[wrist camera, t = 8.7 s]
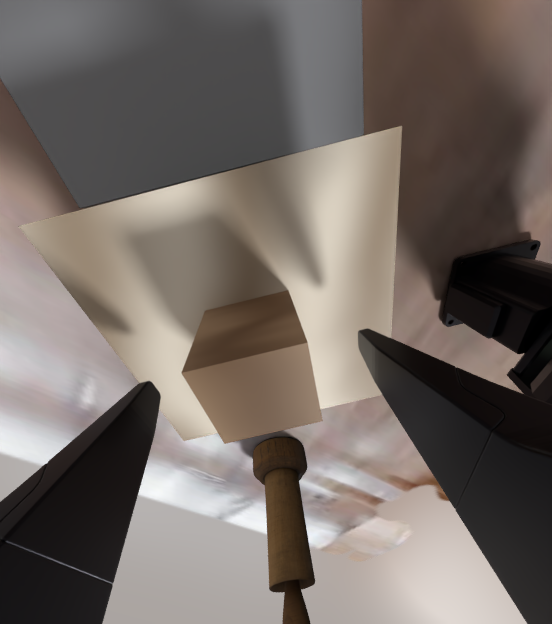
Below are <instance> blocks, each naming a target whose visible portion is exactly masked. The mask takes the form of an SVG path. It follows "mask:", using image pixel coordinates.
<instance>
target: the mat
mask: <svg viewBox="0 0 552 624" xmlns="http://www.w3.org/2000/svg"><path fill="white" fill-rule="evenodd" d="M0 78H1V80H2V82H3V83H4V85H5V87H6V88H7V90H8V92H9V93H10V95H11V96H12V98H13V100H14V101H15V103H16V105H17V106H18V108H19V110H20V111H21V113H22V115H23V116H24V118H25V119H26V121H27V123H28V124H29V126H30V128H31V129H32V131H33V133H34V134H35V136H36V137H37V139H38V141H39V142H40V144H41V146H42V147H43V149H44V151H45V152H46V154H47V155H48V157H49V159H50V160H51V162H52V164H53V165H54V167H55V169H56V170H57V172H58V173H59V175H60V177H61V178H62V180H63V182H64V183H65V185H66V187H67V188H68V190H69V191H70V193H71V195H72V196H73V198H74V200H75V201H76V203H77V205H78V206H79V208H85V207H89V206H93V205H97V204H101V203H105V202H109V201H113V200H117V199H120V198H124V197H128V196H132V195H136V194H140V193H144V192H148V191H151V190H155V189H159V188H163V187H167V186H171V185H175V184H178V183H182V182H186V181H190V180H194V179H198V178H202V177H206V176H209V175H213V174H217V173H221V172H225V171H229V170H233V169H236V168H240V167H244V166H248V165H252V164H256V163H260V162H264V161H267V160H271V159H275V158H279V157H283V156H287V155H291V154H295V153H298V152H302V151H306V150H310V149H314V148H318V147H322V146H325V145H329V144H333V143H337V142H341V141H345V140H349V139H353V138H356V137H360V136H362V135H364V109H363V40H362V0H0Z"/></svg>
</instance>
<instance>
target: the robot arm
mask: <svg viewBox="0 0 552 624" xmlns="http://www.w3.org/2000/svg"><path fill="white" fill-rule="evenodd" d="M540 244H541V243H540V241H537V240H527V241H523V242H519V243H515V244H511V245H507V246H503V247H498V248H494V249H490V250H486V251H482V252H478V253H474V254H470V255H466V256H462V257H459V258H457V259H456V260H455V261H454V263H453V267H452V272H451V278H450V283H449V288H448V293H447V298H446V304H445V309H444V314H443V319H442V323H443V324H444V325H446V326H448V327H450V326H454V325H458V324H463V323H464V324H466V325H467V326H469V327H470V328H472V329H474V330H475V331H477V332H478V333H480V334H481V335H483V336H485V337H486V338H493V339H494V340H496V341H498V342H499V343H501V344H502V345H504V346H506V347H507V348H509V349H510V350H512V351H514V352H515V353H517V354H522V353H525V354H524V355H523V356H522V358H521V359H520V360H519V362H518V363H517V364H516V366H515V367H514V368H512V369H511V370H510V371H509V372H508V374H507V376H508V377H509V378H510V379H511V380H512V381H513V382H514V383H515V385H516V386H517V387H518V388H519V389H520V390H521V391H522V392H523V393H524V394H522V393H519V392H516V391H514V390H511V389H508V388H506V387H503V386H501V385H498V384H496V383H493V382H490V381H488V380H486V379H483V378H481V377H478V376H476V375H474V374H471V373H469V372H467V371H464V370H462V369H460V368H456V367H455V366H453V365H451V364H448V363H446V362H444V361H441V360H439V359H437V358H435V357H432V356H430V355H428V354H426V353H423V352H421V351H419V350H416V349H414V348H412V347H410V346H407V345H405V344H403V343H401V342H398V341H396V340H394V339H391V338H389V337H387V336H385V335H382V334H380V333H378V332H376V331H373V330H371V329H368V328H366V329H362V330H359V331H358V347H359V351H360V353H361V355H362V357H363V359H364V361H365V363H366V365H367V367H368V369H369V371H370V374H371V376H372V378H373V380H374V382H375V383H376V385H377V387H378V388H379V390H380V391H381V393H382V395H383V396H384V398H385V399H386V401H387V403H388V404H389V406H390V407H391V409H392V410H393V412H394V414H395V415H396V417H397V418H398V420H399V421H400V423H401V425H402V426H403V428H404V429H405V431H406V432H407V434H408V436H409V437H410V439H411V440H412V442H413V444H414V445H415V447H416V448H417V450H418V451H419V453H420V455H421V456H422V458H423V459H424V461H425V462H426V464H427V466H428V467H429V469H430V470H431V472H432V474H433V475H434V477H435V478H436V480H437V481H438V483H439V485H440V486H441V488H442V489H443V491H444V492H445V494H446V496H447V497H448V499H449V500H450V502H451V503H452V505H453V507H454V508H455V509H456V512H457V513H458V515H459V516H460V518H461V520H462V521H463V523H464V524H465V526H466V527H467V529H468V531H469V532H470V534H471V535H472V537H473V539H474V540H475V542H476V543H477V545H478V546H479V548H480V550H481V551H482V553H483V554H484V556H485V558H486V559H487V561H488V562H489V564H490V565H491V567H492V569H493V570H494V572H495V573H496V575H497V576H498V578H499V580H500V581H501V583H502V584H503V586H504V587H505V589H506V591H507V592H508V594H509V595H510V597H511V598H512V600H513V602H514V603H515V605H516V606H517V608H518V610H519V611H520V613H521V614H522V616H523V618H524V619H525V621H526V622H527V624H552V264H550V263H546V262H542V261H538V260H535V258H536V255H537V253H538V250H539V247H540ZM461 263H462V264H461ZM460 264H461V265H460ZM160 400H161V395H160V392H159V391H158V390H157V388H156V387H155V385H154V384H153V383H152V382H151V381H145V382H141V383H139V384H138V385H137V386H135V387H134V388H133V389H132V390H131V391H130V392H128V393H127V394H126V395H125V396H124V397H123V398H121V399H120V400H119V401H118V402H117V403H116V404H115V405H113V406H112V407H111V408H110V409H109V410H108V411H106V412H105V413H104V414H103V415H102V416H101V417H99V418H98V419H97V420H96V421H95V422H94V423H92V424H91V425H90V426H89V427H88V428H87V429H85V430H84V431H83V432H82V433H81V434H80V435H79V436H77V437H76V438H75V439H74V440H73V441H72V442H70V443H69V444H68V445H67V446H66V447H65V448H63V449H62V450H61V451H60V452H59V453H58V454H56V455H55V456H54V457H53V458H52V459H51V460H50V461H48V463H47V464H45V465H44V466H42V467H41V468H40V469H39V470H38V471H37V472H36V473H34V474H33V475H32V476H31V477H30V478H28V479H27V480H26V481H25V482H24V483H23V484H21V485H20V486H19V487H18V488H17V489H15V490H14V491H13V492H12V493H11V494H9V495H8V496H7V497H6V498H4V499H3V500H2V501H1V502H0V624H102V622H103V619H104V615H105V611H106V608H107V604H108V601H109V597H110V593H111V590H112V583H113V582H114V578H115V575H116V571H117V568H118V564H119V561H120V557H121V553H122V549H123V546H124V543H125V538H126V535H127V532H128V528H129V524H130V521H131V517H132V514H133V510H134V506H135V503H136V499H137V496H138V492H139V488H140V485H141V481H142V478H143V474H144V470H145V467H146V463H147V460H148V456H149V452H150V449H151V445H152V442H153V438H154V434H155V429H156V423H157V418H158V412H159V406H160Z"/></svg>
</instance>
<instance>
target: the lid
mask: <svg viewBox="0 0 552 624" xmlns="http://www.w3.org/2000/svg"><path fill="white" fill-rule="evenodd" d="M401 138H402V126H399V127H395V128H391V129H387V130H383V131H380V132H376V133H372V134H368V135H364V136H360V137H357V138H353V139H349V140H345V141H341V142H338V143H334V144H330V145H326V146H322V147H319V148H315V149H311V150H307V151H303V152H299V153H296V154H292V155H288V156H284V157H280V158H277V159H273V160H269V161H265V162H261V163H258V164H254V165H250V166H246V167H242V168H238V169H235V170H231V171H227V172H223V173H219V174H216V175H212V176H208V177H204V178H200V179H197V180H193V181H189V182H185V183H181V184H178V185H174V186H170V187H166V188H162V189H158V190H155V191H151V192H147V193H143V194H139V195H136V196H132V197H128V198H124V199H120V200H117V201H113V202H109V203H105V204H101V205H97V206H94V207H90V208H86V209H82V210H78V211H75V212H71V213H67V214H63V215H59V216H56V217H52V218H48V219H44V220H40V221H36V222H33V223H29V224H25V225H21V226H18V227H19V228H20V229H21V231H22V232H23V233H24V234H25V236H26V237H27V238H28V240H29V241H30V242H31V243H32V245H33V246H34V247H35V249H36V250H37V251H38V253H39V254H40V255H41V256H42V258H43V259H44V260H45V262H46V263H47V264H48V265H49V267H50V268H51V269H52V271H53V272H54V273H55V275H56V276H57V277H58V278H59V280H60V281H61V282H62V284H63V285H64V286H65V288H66V289H67V290H68V291H69V293H70V294H71V295H72V297H73V298H74V299H75V300H76V302H77V303H78V304H79V306H80V307H81V308H82V310H83V311H84V312H85V313H86V315H87V316H88V317H89V319H90V320H91V321H92V322H93V324H94V325H95V326H96V328H97V329H98V330H99V332H100V333H101V334H102V335H103V337H104V338H105V339H106V341H107V342H108V343H109V345H110V346H111V347H112V348H113V350H114V351H115V352H116V354H117V355H118V356H119V357H120V359H121V360H122V361H123V363H124V364H125V365H126V367H127V368H128V369H129V370H130V372H131V373H132V374H133V376H134V377H135V378H136V379H137V381H138V382H139V383H141V382H145V381H151V382H152V383H153V384H154V385H155V387H156V388H157V390H158V391H159V392H160V395H161V400H160V406H159V409H160V411H161V412H162V413H163V414H164V416H165V417H166V418H167V420H168V421H169V422H170V424H171V425H172V426H173V427H174V429H175V430H176V431H177V433H178V434H179V435H180V436H181V438H182V439H183V440H184V441H186V440H190V439H195V438H199V437H203V436H208V435H212V434H216V433H218V434H219V435H220V437H221V439H222V440H223V442H224V444H225V443H230V442H234V441H238V440H243V439H247V438H251V437H256V436H260V435H264V434H269V433H273V432H277V431H282V430H286V429H290V428H295V427H299V426H303V425H307V424H312V423H316V422H320V421H323V420H322V415H321V410H320V409H324V408H328V407H332V406H337V405H341V404H345V403H349V402H354V401H358V400H362V399H367V398H371V397H375V396H379V395H382V393H381V391H380V390H379V388H378V387H377V385H376V383H375V382H374V380H373V378H372V376H371V374H370V371H369V369H368V367H367V365H366V363H365V361H364V359H363V357H362V355H361V353H360V351H359V347H358V331H359V330H362V329H366V328H368V329H371V330H373V331H376V332H378V333H380V334H382V335H385V336H387V337H389V338H391V331H392V312H393V293H394V273H395V254H396V235H397V216H398V196H399V177H400V158H401Z"/></svg>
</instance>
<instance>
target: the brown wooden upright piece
mask: <svg viewBox="0 0 552 624" xmlns="http://www.w3.org/2000/svg"><path fill="white" fill-rule="evenodd" d="M306 470H307V461H306V456H305V451H304V447H303V445H302V443H300V442H299V441H298V440H295V439H290V438H287V437H278V438H272V439H269V440H266V441H263V442H262V443H260V444H259V445H258V446H256V448H255V449H254V451H253V472H254V476H255V477H256V478H257V479H258V480H259V481H260V482H261V483H262V484H263V485H265V495H266V514H267V536H268V562H269V589H270V590H271V591H272V592H285V596H284V609H283V624H310V620H309V616H308V612H307V609H306V605H305V602H304V599H303V596H302V592H301V589H305V588H308V587H310V586H312V585H314V583H315V578H314V572H313V566H312V560H311V555H310V549H309V543H308V537H307V530H306V524H305V518H304V512H303V505H302V499H301V492H300V485H299V480H300V479H301V478H302V476H303V475H304V473H305V472H306Z"/></svg>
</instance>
